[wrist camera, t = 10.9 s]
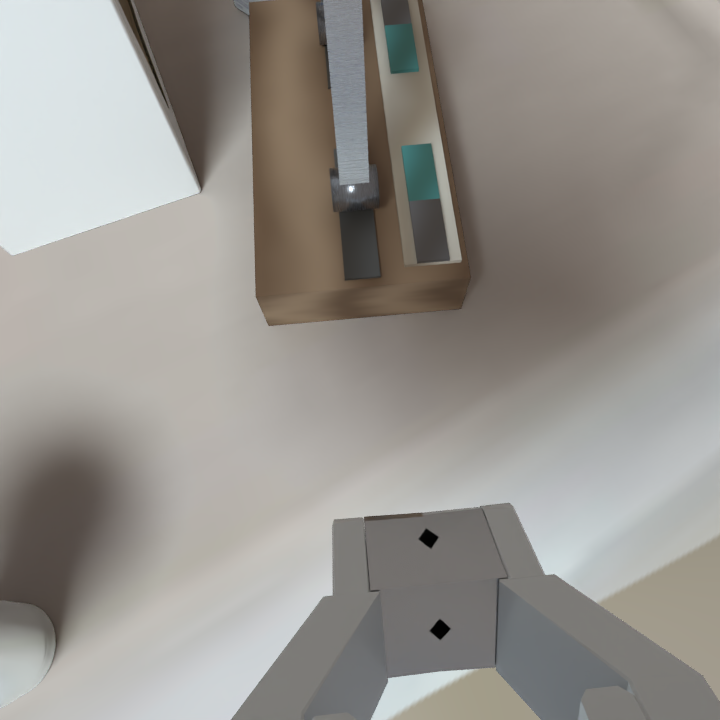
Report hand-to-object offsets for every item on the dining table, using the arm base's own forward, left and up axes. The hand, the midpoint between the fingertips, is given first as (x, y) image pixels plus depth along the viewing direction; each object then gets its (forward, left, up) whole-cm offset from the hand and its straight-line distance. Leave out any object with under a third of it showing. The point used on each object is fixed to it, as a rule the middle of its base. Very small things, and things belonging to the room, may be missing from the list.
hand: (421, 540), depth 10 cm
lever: (0, +19, -18) cm, 26 cm away
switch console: (0, +26, -22) cm, 34 cm away
